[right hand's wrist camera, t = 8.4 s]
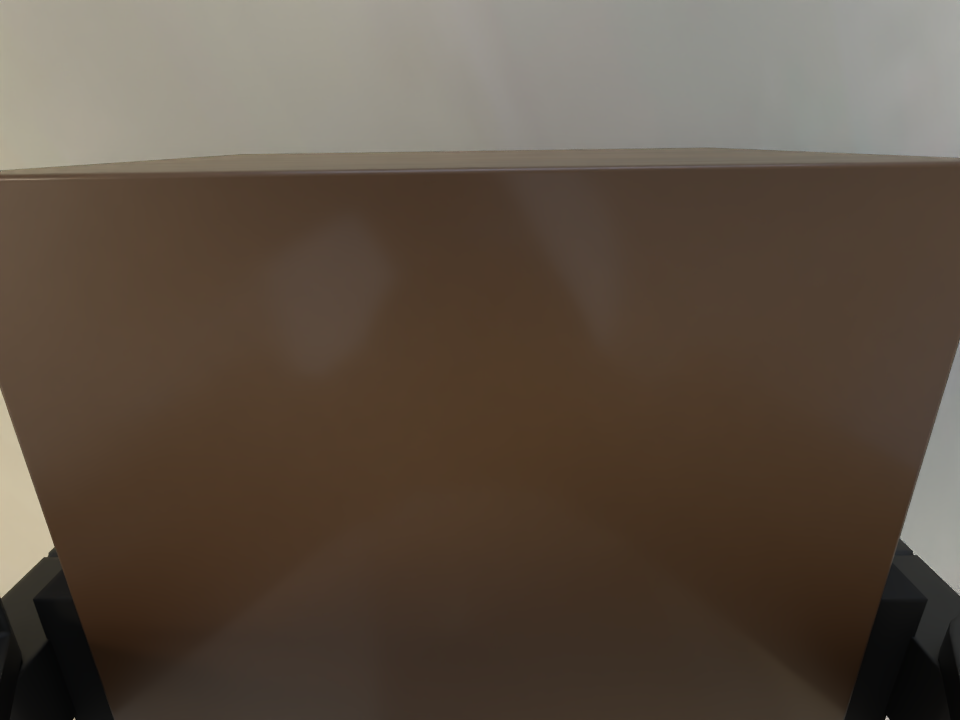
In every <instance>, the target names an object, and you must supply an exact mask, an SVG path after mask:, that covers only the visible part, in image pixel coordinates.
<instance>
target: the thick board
mask: <svg viewBox="0 0 960 720" xmlns="http://www.w3.org/2000/svg"><path fill="white" fill-rule="evenodd" d="M959 340H960V158H948V157H924V156H900V155H875V154H851V153H826V152H802V151H778V150H753V149H729V148H651V149H580V150H510V151H439V152H368V153H298V154H238V155H224V156H209V157H194V158H179V159H164V160H149V161H135V162H120V163H105V164H90V165H75V166H60V167H46V168H31V169H16V170H1V171H0V388H1V391H2V394H3V397H4V400H5V403H6V406H7V409H8V412H9V415H10V418H11V421H12V423H13V426H14V429H15V432H16V435H17V438H18V441H19V444H20V447H21V450H22V453H23V456H24V458H25V461H26V464H27V467H28V470H29V473H30V476H31V479H32V482H33V485H34V488H35V491H36V494H37V496H38V499H39V502H40V505H41V508H42V511H43V514H44V517H45V520H46V523H47V526H48V529H49V531H50V534H51V537H52V540H53V543H54V546H55V549H56V552H57V555H58V558H59V561H60V564H61V566H62V569H63V572H64V575H65V578H66V581H67V584H68V587H69V590H70V593H71V596H72V599H73V601H74V604H75V607H76V610H77V613H78V616H79V619H80V622H81V625H82V628H83V631H84V634H85V637H86V639H87V642H88V645H89V648H90V651H91V654H92V657H93V660H94V663H95V666H96V669H97V672H98V674H99V677H100V680H101V683H102V686H103V689H104V692H105V695H106V698H107V701H108V704H109V707H110V709H111V712H112V715H113V718H114V720H844V719H845V716H846V713H847V709H848V706H849V703H850V699H851V696H852V693H853V690H854V686H855V683H856V680H857V676H858V673H859V670H860V666H861V663H862V660H863V657H864V653H865V650H866V647H867V643H868V640H869V637H870V634H871V630H872V627H873V624H874V620H875V617H876V614H877V610H878V607H879V604H880V601H881V597H882V594H883V591H884V587H885V584H886V581H887V578H888V574H889V571H890V568H891V564H892V561H893V558H894V554H895V551H896V548H897V545H898V541H899V538H900V535H901V531H902V528H903V525H904V522H905V518H906V515H907V512H908V508H909V505H910V502H911V499H912V495H913V492H914V489H915V485H916V482H917V479H918V475H919V472H920V469H921V466H922V462H923V459H924V456H925V452H926V449H927V446H928V443H929V439H930V436H931V433H932V429H933V426H934V423H935V419H936V416H937V413H938V410H939V406H940V403H941V400H942V396H943V393H944V390H945V387H946V383H947V380H948V377H949V373H950V370H951V367H952V363H953V360H954V357H955V354H956V350H957V347H958V344H959Z"/></svg>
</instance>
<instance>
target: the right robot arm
mask: <svg viewBox="0 0 960 720" xmlns="http://www.w3.org/2000/svg"><path fill="white" fill-rule="evenodd" d="M886 715H887V716H888V718H889V719H890V720H960V596H959V595H958V594H957V593H956V592H955V591H954V590H953V589H952V588H951V587H950V586H949V585H948V584H947V583H946V582H945V581H943V580H942V579H941V578H940V577H939V576H938V575H937V574H936V573H935V572H934V571H933V570H932V569H931V568H930V567H929V566H928V565H927V564H926V563H925V562H924V561H923V560H921V559H920V558H919V557H918V556H917V555H913V551H912V550H911V549H910V548H909V547H908V546H907V545H906V544H905V543H904V542H903V541H902V540H901V539H899V541H898V545H897V548H896V551H895V554H894V558H893V561H892V564H891V568H890V571H889V574H888V578H887V581H886V584H885V587H884V591H883V594H882V597H881V601H880V604H879V607H878V610H877V614H876V617H875V620H874V624H873V627H872V630H871V634H870V637H869V640H868V643H867V647H866V650H865V653H864V657H863V660H862V663H861V666H860V670H859V673H858V676H857V680H856V683H855V686H854V690H853V693H852V696H851V699H850V703H849V706H848V709H847V713H846V716H845V719H844V720H885V718H886ZM74 717H75V719H76V720H114V718H113V715H112V712H111V709H110V707H109V704H108V701H107V698H106V695H105V692H104V689H103V686H102V683H101V680H100V677H99V674H98V672H97V669H96V666H95V663H94V660H93V657H92V654H91V651H90V648H89V645H88V642H87V639H86V637H85V634H84V631H83V628H82V625H81V622H80V619H79V616H78V613H77V610H76V607H75V604H74V601H73V599H72V596H71V593H70V590H69V587H68V584H67V581H66V578H65V575H64V572H63V569H62V566H61V564H60V561H59V558H58V555H57V552H56V549H55V547H54V548H53V549H52V550H51V551H50V552H49V555H48V557H44V558H43V559H42V560H41V561H40V562H39V563H38V564H37V565H36V566H35V567H33V568H32V569H31V570H30V571H29V572H28V573H27V574H26V575H25V576H24V577H23V578H22V579H21V580H20V581H19V582H18V583H17V584H16V585H15V586H14V587H13V588H12V589H11V590H10V591H9V592H8V593H6V594H5V595H4V596H3V597H2V598H0V720H73V719H74Z"/></svg>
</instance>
